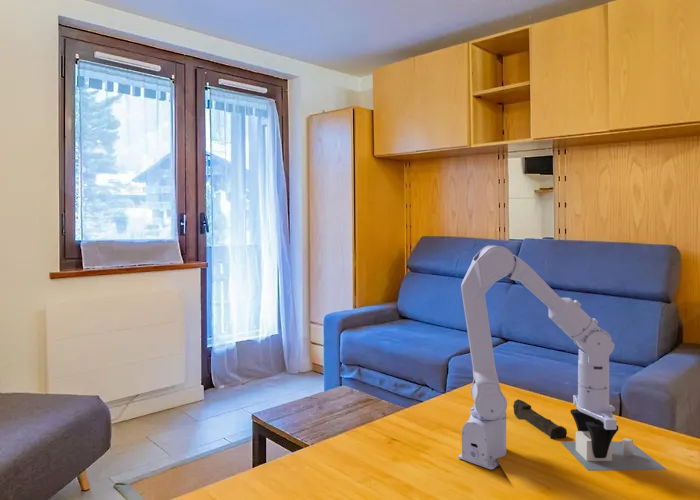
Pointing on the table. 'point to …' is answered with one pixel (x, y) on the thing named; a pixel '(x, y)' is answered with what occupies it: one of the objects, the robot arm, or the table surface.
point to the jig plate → (619, 458)
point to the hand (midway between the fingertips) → (593, 451)
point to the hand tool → (538, 420)
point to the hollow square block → (589, 447)
